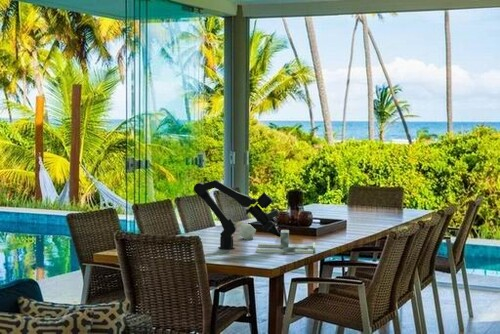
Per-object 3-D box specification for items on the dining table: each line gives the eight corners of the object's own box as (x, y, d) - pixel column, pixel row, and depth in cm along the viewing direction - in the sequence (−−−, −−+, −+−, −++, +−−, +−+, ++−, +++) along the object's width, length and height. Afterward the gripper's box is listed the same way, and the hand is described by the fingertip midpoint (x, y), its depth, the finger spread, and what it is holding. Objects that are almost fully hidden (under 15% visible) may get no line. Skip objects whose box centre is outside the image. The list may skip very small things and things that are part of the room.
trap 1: (282, 254, 439) (282, 254, 439) (283, 252, 445) (283, 252, 445) (294, 254, 438) (294, 254, 438) (295, 253, 444) (295, 252, 444)
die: (250, 238, 499) (240, 224, 499) (261, 232, 494) (250, 217, 493) (244, 245, 492) (233, 231, 492) (254, 239, 487) (244, 224, 486)
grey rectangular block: (280, 251, 449) (280, 232, 449) (281, 248, 459) (281, 229, 459) (307, 252, 448) (307, 233, 448) (307, 249, 458) (308, 230, 458)
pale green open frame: (255, 252, 446) (256, 246, 446) (258, 246, 464) (258, 241, 464) (315, 253, 444) (315, 247, 444) (315, 248, 462) (315, 242, 462)
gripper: (269, 205, 444) (291, 228, 444) (271, 202, 462) (291, 223, 462) (253, 221, 445) (275, 243, 445) (256, 216, 464) (276, 237, 463)
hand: (280, 236), depth 454 cm, fingers closed
